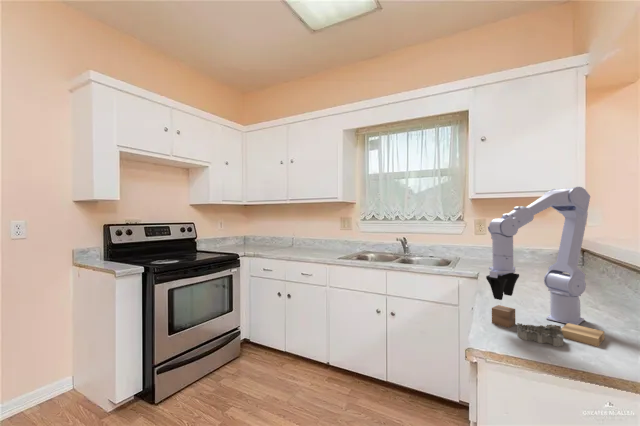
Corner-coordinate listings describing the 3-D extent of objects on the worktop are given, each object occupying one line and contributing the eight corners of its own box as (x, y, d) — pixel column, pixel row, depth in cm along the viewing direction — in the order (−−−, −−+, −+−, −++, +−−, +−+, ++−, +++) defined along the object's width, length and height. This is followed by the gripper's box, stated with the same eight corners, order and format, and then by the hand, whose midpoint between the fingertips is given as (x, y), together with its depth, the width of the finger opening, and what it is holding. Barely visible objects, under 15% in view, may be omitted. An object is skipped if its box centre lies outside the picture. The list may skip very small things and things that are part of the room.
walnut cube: (498, 319, 97) (498, 304, 97) (515, 324, 93) (515, 308, 93) (491, 323, 94) (491, 307, 94) (509, 328, 90) (508, 311, 90)
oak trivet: (568, 331, 88) (567, 322, 88) (604, 340, 81) (604, 331, 81) (560, 338, 83) (560, 329, 83) (598, 348, 77) (598, 338, 77)
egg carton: (563, 340, 81) (563, 325, 81) (564, 350, 75) (564, 334, 75) (517, 330, 88) (517, 317, 88) (515, 339, 82) (515, 324, 82)
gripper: (499, 252, 101) (499, 290, 101) (479, 255, 92) (479, 298, 92) (522, 254, 95) (522, 295, 95) (503, 258, 87) (504, 303, 86)
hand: (503, 297), depth 93 cm, fingers open, 7 cm apart
